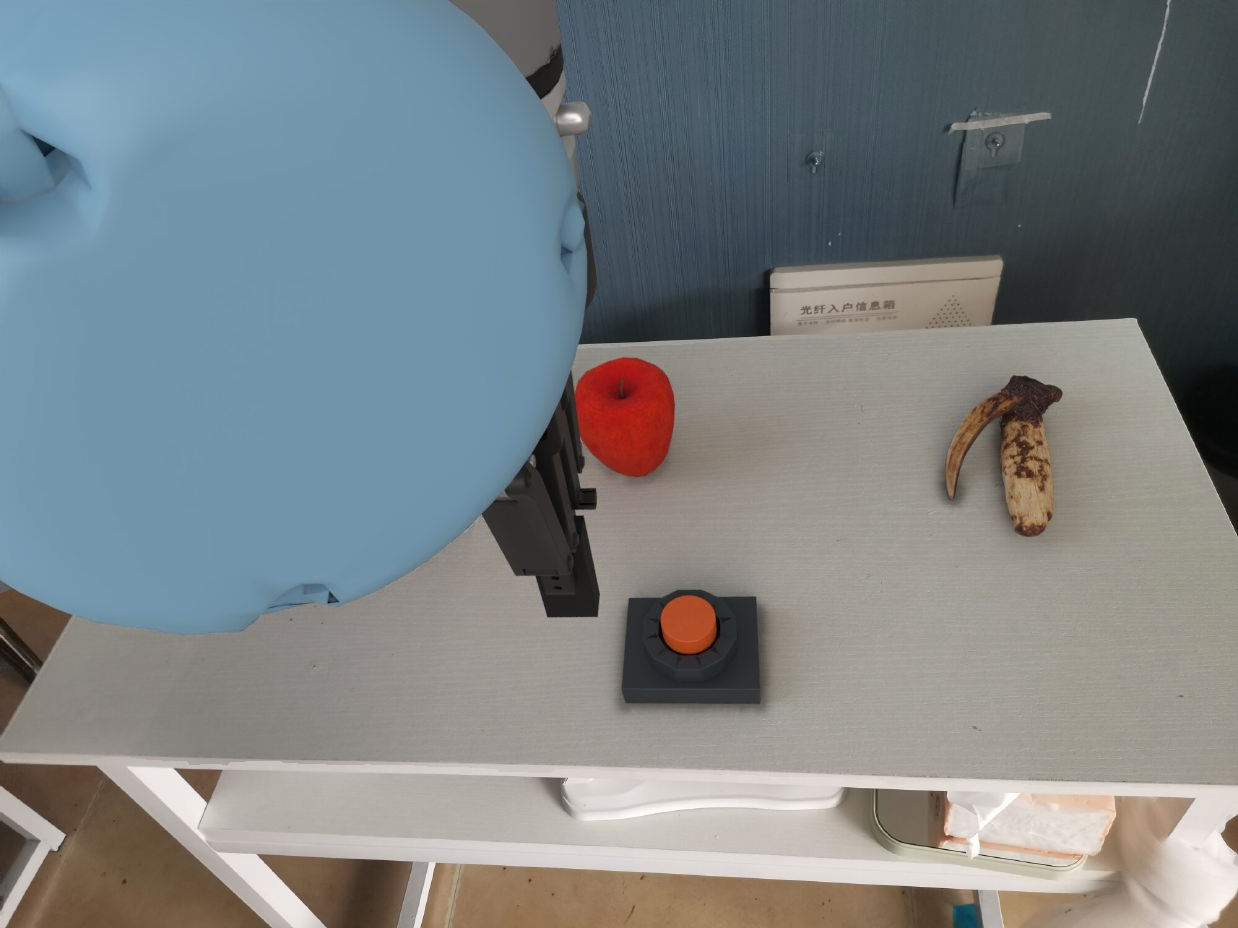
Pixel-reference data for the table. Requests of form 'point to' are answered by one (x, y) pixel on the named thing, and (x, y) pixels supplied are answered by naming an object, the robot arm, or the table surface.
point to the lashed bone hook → (1014, 450)
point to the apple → (626, 415)
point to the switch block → (692, 655)
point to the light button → (688, 624)
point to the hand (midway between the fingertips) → (573, 605)
